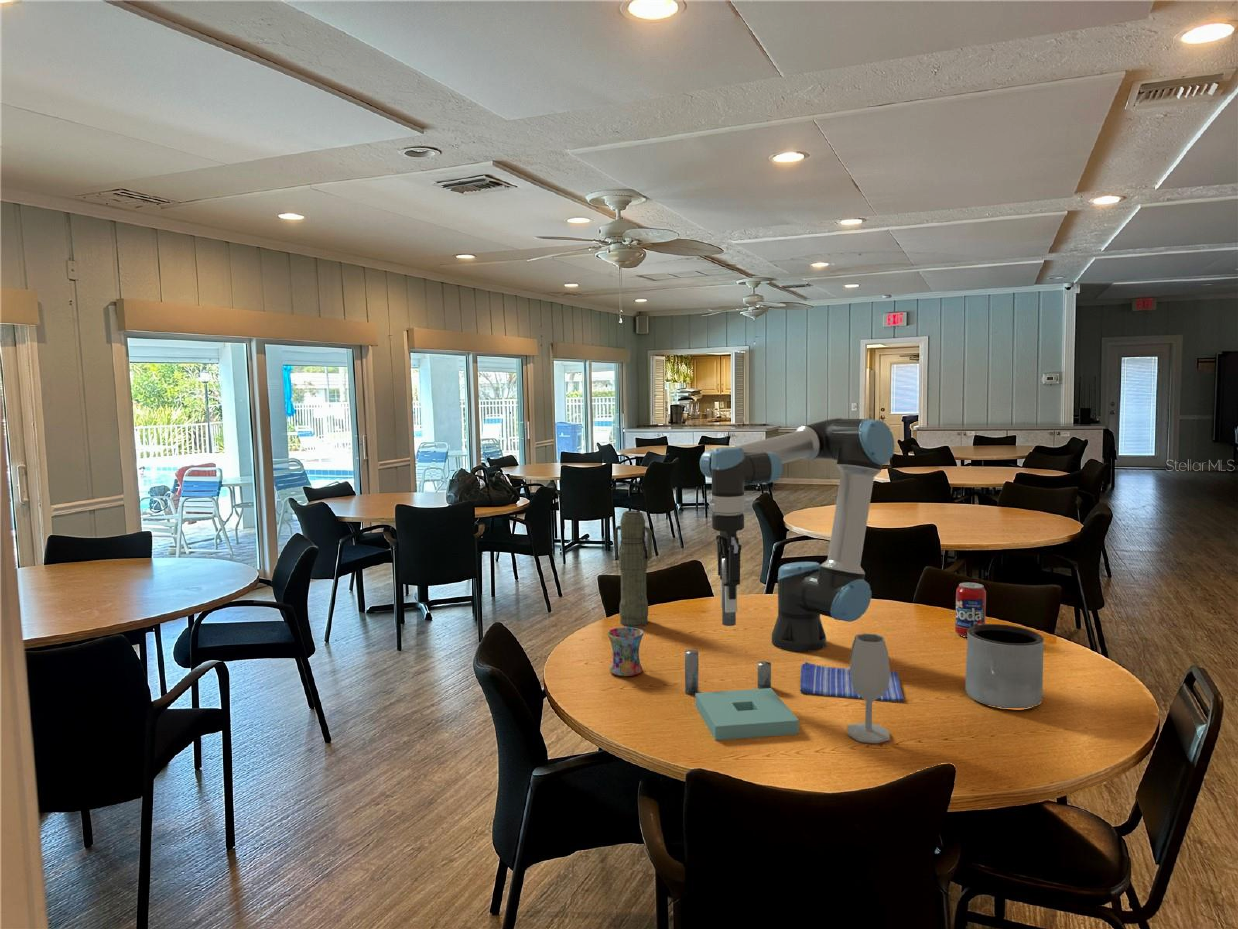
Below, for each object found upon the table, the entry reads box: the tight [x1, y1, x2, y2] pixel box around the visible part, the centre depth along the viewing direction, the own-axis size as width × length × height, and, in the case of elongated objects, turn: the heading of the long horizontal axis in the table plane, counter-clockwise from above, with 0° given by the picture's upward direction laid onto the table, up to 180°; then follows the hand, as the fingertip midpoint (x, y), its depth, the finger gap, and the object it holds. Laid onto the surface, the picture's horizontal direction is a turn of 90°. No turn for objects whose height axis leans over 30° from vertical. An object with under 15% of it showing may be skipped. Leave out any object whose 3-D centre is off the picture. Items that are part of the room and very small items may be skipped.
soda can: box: [954, 581, 987, 638], centre depth 227 cm, size 8×8×15 cm
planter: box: [964, 623, 1045, 708], centre depth 181 cm, size 16×16×16 cm
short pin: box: [757, 660, 772, 689], centre depth 190 cm, size 3×3×6 cm
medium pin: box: [684, 649, 700, 696], centre depth 188 cm, size 3×3×10 cm
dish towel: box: [799, 661, 905, 703], centre depth 191 cm, size 17×24×3 cm
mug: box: [607, 626, 645, 677], centre depth 203 cm, size 12×9×11 cm
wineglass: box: [847, 632, 891, 744], centre depth 162 cm, size 9×9×21 cm
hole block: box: [694, 687, 800, 741], centre depth 172 cm, size 18×18×3 cm
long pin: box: [721, 557, 737, 627], centre depth 187 cm, size 3×3×16 cm
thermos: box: [613, 510, 653, 628], centre depth 243 cm, size 9×12×35 cm
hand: (729, 609), depth 187 cm, fingers closed on long pin, 3 cm apart
